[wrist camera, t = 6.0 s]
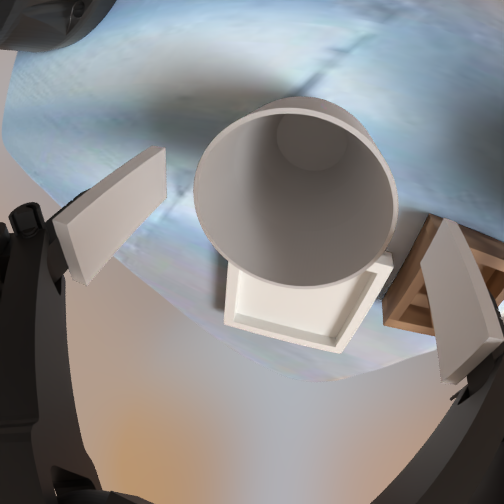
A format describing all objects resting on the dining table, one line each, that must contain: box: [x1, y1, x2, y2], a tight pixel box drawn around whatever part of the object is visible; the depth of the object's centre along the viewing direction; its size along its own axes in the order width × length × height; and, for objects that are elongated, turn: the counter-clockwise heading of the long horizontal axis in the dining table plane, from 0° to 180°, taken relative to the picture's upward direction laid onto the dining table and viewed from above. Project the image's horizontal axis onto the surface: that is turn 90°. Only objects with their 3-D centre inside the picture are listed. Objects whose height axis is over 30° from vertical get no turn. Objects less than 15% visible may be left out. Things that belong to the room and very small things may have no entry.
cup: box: [193, 97, 398, 289], centre depth 15 cm, size 8×8×10 cm
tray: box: [224, 251, 394, 354], centre depth 27 cm, size 13×13×2 cm
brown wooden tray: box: [382, 213, 504, 336], centre depth 21 cm, size 10×10×3 cm
